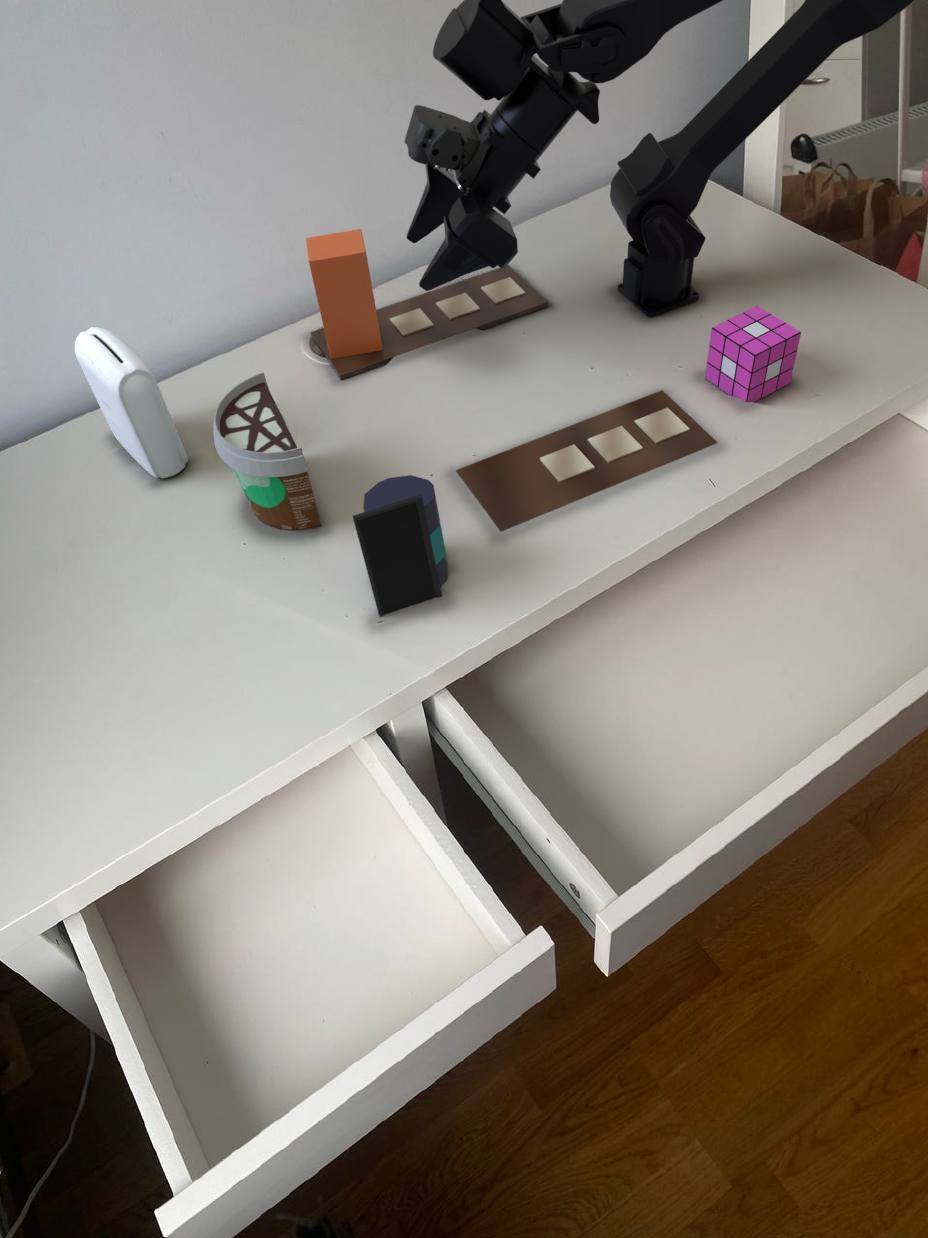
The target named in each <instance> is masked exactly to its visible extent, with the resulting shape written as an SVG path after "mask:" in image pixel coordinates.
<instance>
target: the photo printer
mask: <svg viewBox="0 0 928 1238" xmlns="http://www.w3.org/2000/svg"><path fill="white" fill-rule="evenodd" d="M74 354H75V357H76V359H77V361H78V364H79V366H80V368H81V370H82V372H83V374H84V376H85V378H86V380H87V383H88V384H89V387H90V389H91V391H92V393H93V395H94V397H95V399H96V401H97V403H98V405H99V408H100V410H101V411H102V414H103V416H104V418H105V420H106V422H107V424H108V426H109V428H110V430H111V432H112V434H113V435H114V437H115V439H116V440H117V441H118V443H119V444H120V446H122V448H123V449H124V450H125V451H126V452H127V453H128V454H129V455H130V456H131V458H133V459H134V460H135V461H136V463H138V464H139V465H140V466H141V468H143V469H144V470H145V471H146V472H147V473H148V474H149V475H150V476H152V477H154V478H155V479H160V478H161V479H167V478H171V477H173V476H176V475H177V474H179V473H180V472H182V470H184V469H185V467H186V463H188V462H189V457H188V454H187V452H186V450H185V448H184V444H183V443H182V442H183V441H182V440H181V437H180V435H179V432H178V430H177V428H176V425H175V423H174V420H173V418H172V415H171V414H170V411H169V409H168V406H167V404H166V401H165V398H164V396H163V393H162V392H161V389H160V386H159V385H158V382H157V379H156V377H155V374H154V372H153V371H152V369H151V368H150V367H149V365H148V364H147V363H146V361H145V360H144V358H142V356H141V355H140V354H139V353H138V352H137V351H136V350H135V349H134V348H133V347H132V346H131V345H130V344H129V343H128V342H126V340H124V339H123V338H121V337H120V336H119V335H117V334H116V333H114V332H112V331H110V330H108V329H106V328H102V327H96V326H94V327H93V326H92V327H89V329H87V330H85V331H81V332H79V333H78V334H77V336H76V339H75V342H74Z"/></svg>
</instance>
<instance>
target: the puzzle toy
mask: <svg viewBox="0 0 928 1238" xmlns="http://www.w3.org/2000/svg"><path fill="white" fill-rule="evenodd" d="M801 336H802V332H801V331H800V330H798V329H797V328H795V327H793V326H792V325H791V324H789V323H787V322H786V321H784V320H782V319H780V318H778V317H777V316H776V315H774V314H772V313H770V312H769V311H767V310H766V309H764V308H762V307H760V306H759V305H755V306H753V307H751V308H749V309H747V310H745V311H743V312H741V313H739V314H737V315H735V316H732V317H730V318H728V319H727V320H724V321H723V322H720V323H719V324H717V325H714V326H712V327H711V331H710V338H709V345H708V354H707V360H706V368H705V375H704V378H705V380H707V381H709V382H710V383H712V384H713V385H714V386H716V387H718V388H719V389H720V390H722V391H723V392H724V393H726V394H727V395H729V396H730V397H732V398H737V399H740V400H742V401H744V402H745V403H749V402H752V403H756V402H757V401H759V400H761V399H763V398H765V397H766V396H768V395H770V394H772V393H774V392H776V391H778V390H780V389H782V388H783V387H785V386H787V385H790V383H791V381H792V377H793V371H794V367H795V363H796V359H797V354H798V349H799V345H800V339H801Z"/></svg>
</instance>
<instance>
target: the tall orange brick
mask: <svg viewBox="0 0 928 1238" xmlns="http://www.w3.org/2000/svg"><path fill="white" fill-rule="evenodd" d="M363 235H364V234H363V230H362V229H361V228H357V229H352V230H346V231H345V230H344V231H340V232H335V233H328V234H327V233H326V234H321V235H315V236H310V237H306V238H305V242H306V250H307V251H306V252H307V259H308V265H309V270H310V274H311V278H312V282H313V287H314V292H315V296H316V299H317V304H318V308H319V309H318V310H319V314H320V318H321V322H322V326H323V327H322V328H324V331H325V336H326V340H327V344H328V349H329V353H330V357H331V359H335V358H341V357H347V356H353V355H358V354H364V353H370V352H376V351H381V350H383V346H382V341H381V335H380V329H379V323H378V318H377V312H376V310H377V307H376V301H375V296H374V289H373V283H372V278H371V273H370V267H369V262H368V256H367V249H366V246H365V240H364V236H363Z"/></svg>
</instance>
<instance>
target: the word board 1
mask: <svg viewBox="0 0 928 1238" xmlns="http://www.w3.org/2000/svg"><path fill="white" fill-rule="evenodd" d="M547 307H548V301H546V300H545V298H543V297H542V296H541V295H540V294H539V293H538V292H537V291H536V290H535V289H534V288H533V287H532V286H531V285H530V284H529V283H528V282H527V281H526V280H525V279H524V278H523V277H522V276H521V275H520V274H518V273H517V271H516V270H515V269H514V268H512V267H511V266H510V265H509V264H508V265H507V266H506V267H505V268H500V267H498V268H494V269H492V270H489V271H486V272H483V273H480V274H477V275H474V276H472V277H468V278H465V279H463V280H460V281H457V282H453V283H452V284H448V285H445V286H442V287H440V288H437V289H436V288H435V289H432V290H429V291H426V292H425V293H422V294H418V295H416V296H413V297H410V298H407V299H404V300H401V301H397V302H395V303H392V304H390V305H386V306H383V307H380V308H378V309H377V308H376V312H377V318H378V323H379V329H380V335H381V341H382V346H383V350H381V351H376V352H370V353H364V354H358V355H353V356H347V357H341V358H335V359H331V357H330V353H329V349H328V344H327V340H326V336H325V331H324V327H322V328H319V329H316V330H313V331H310V337H311V338H312V340H313V342H314V343H315V345H316V346H317V347H318V349H319V350H320V352H321V353H322V354H323V356H324V358H325V359H326V360H327V362H328V364H329V365H330V366H331V368H332V369H333V371H334V372H335V373H336V375H337V377H338V378H339V379H340V381H342V380H345V379H348V378H351V377H353V376H356V375H359V374H362V373H365V372H368V371H371V370H374V369H377V368H379V367H383V366H385V365H387V364H389V363H390V362H391V361H392V360H393V359H394V358H395V357H397V356H400V355H403V354H406V353H408V352H411V351H414V350H417V349H420V348H423V347H426V346H429V345H431V344H434V343H437V342H440V341H443V340H445V339H449V338H451V337H454V336H457V335H459V334H462V333H465V332H468V331H471V330H473V329H474V330H475V329H476V330H478V331H484V330H486V329H489V328H492V327H494V326H498V325H500V324H503V323H505V322H509V321H511V320H514V319H518V318H520V317H522V316H526V315H528V314H531V313H534V312H537V311H540V310H542V309H545V308H547Z"/></svg>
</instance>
